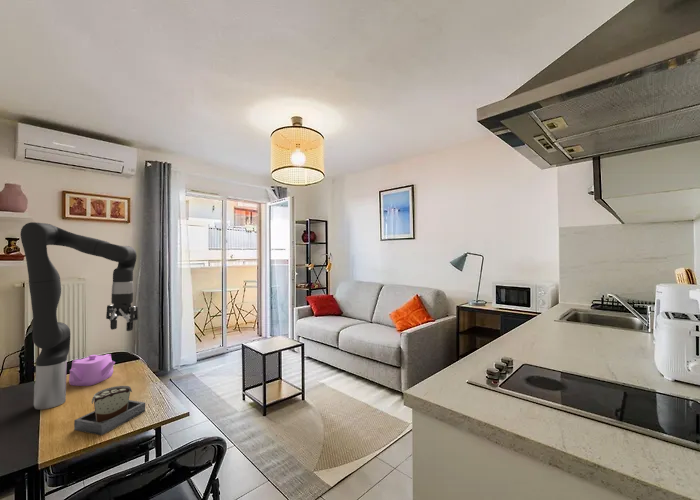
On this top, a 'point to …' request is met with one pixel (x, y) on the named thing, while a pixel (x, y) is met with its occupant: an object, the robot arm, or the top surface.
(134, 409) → the grey metal tray
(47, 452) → the top surface
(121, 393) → the grey speckled half-round piece
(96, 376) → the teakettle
